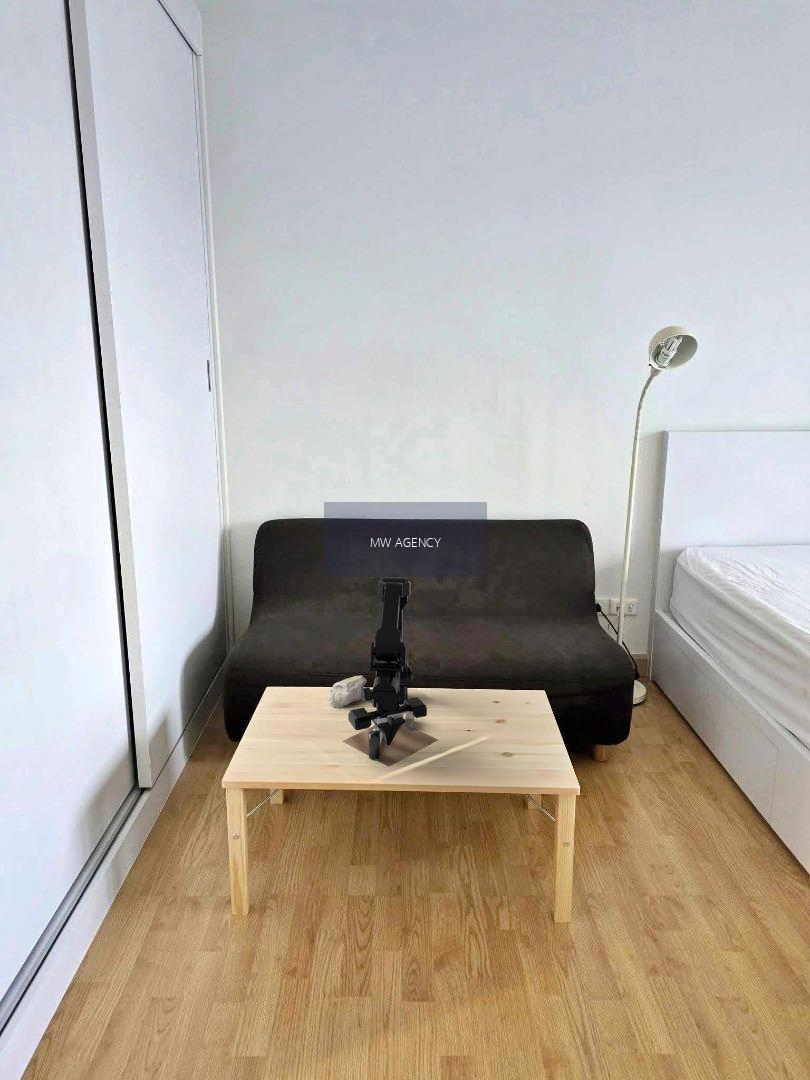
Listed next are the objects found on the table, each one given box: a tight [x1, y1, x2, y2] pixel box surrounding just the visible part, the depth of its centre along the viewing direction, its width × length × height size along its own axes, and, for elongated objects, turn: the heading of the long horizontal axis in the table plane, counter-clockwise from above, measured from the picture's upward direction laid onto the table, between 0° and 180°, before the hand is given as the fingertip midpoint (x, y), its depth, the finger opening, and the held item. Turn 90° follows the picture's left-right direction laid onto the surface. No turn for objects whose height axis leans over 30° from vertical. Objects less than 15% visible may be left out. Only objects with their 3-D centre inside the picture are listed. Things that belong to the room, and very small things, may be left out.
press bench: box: [342, 712, 439, 768], centre depth 188 cm, size 20×17×4 cm
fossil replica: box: [328, 675, 368, 709], centre depth 209 cm, size 12×8×10 cm
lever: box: [368, 721, 388, 760], centre depth 186 cm, size 4×17×6 cm, turn 175°
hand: (388, 744), depth 180 cm, fingers closed
